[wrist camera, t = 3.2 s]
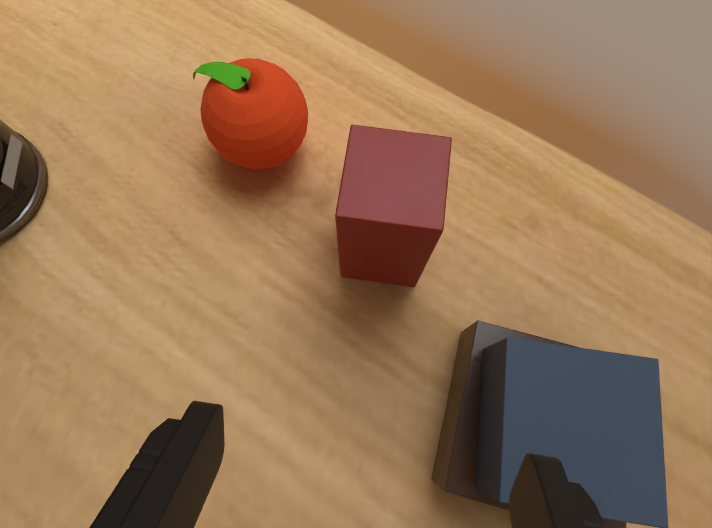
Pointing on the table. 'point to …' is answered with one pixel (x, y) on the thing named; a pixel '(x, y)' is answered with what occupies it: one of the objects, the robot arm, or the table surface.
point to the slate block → (575, 424)
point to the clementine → (253, 112)
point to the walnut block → (472, 415)
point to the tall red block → (391, 203)
